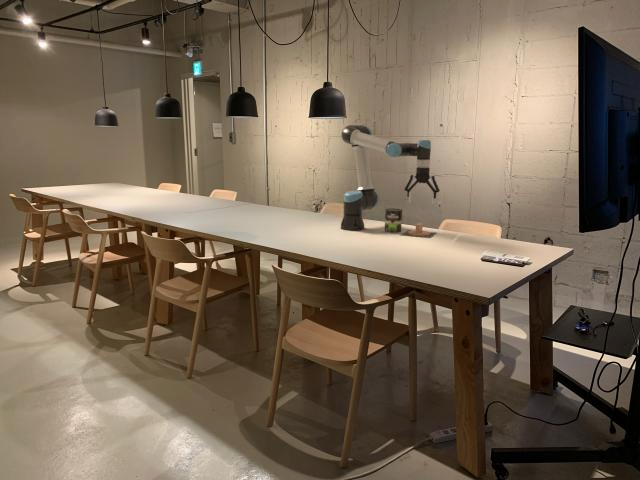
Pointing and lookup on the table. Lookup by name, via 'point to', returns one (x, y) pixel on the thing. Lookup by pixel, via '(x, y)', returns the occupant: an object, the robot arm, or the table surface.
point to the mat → (418, 236)
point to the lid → (419, 231)
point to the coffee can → (393, 220)
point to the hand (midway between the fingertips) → (421, 203)
